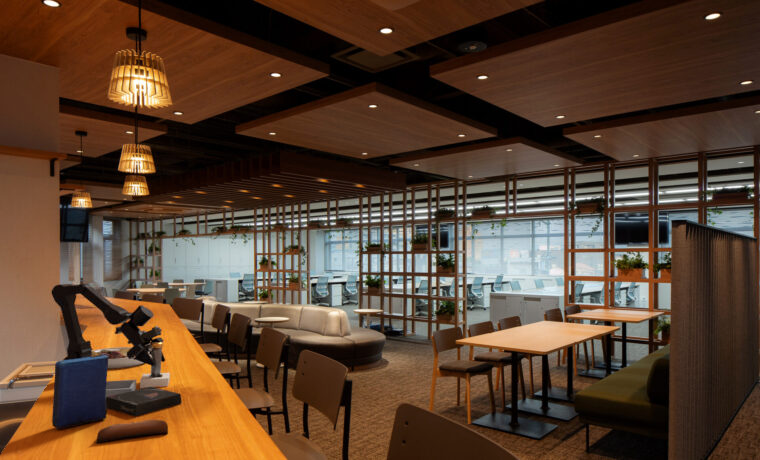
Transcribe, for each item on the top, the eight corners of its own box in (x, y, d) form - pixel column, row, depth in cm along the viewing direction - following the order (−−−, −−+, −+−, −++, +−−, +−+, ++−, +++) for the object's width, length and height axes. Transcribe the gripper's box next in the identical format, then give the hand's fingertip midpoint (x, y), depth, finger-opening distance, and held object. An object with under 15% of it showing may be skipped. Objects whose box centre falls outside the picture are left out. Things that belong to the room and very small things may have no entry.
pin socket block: (139, 387, 190) (140, 379, 190) (142, 381, 200) (143, 374, 200) (168, 386, 194) (168, 378, 194) (169, 380, 203) (169, 372, 203)
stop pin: (148, 385, 194) (150, 344, 195) (149, 382, 198) (151, 342, 199) (160, 384, 195) (162, 343, 196) (161, 382, 199) (163, 342, 200)
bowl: (84, 359, 240) (85, 343, 241) (152, 355, 253) (152, 340, 253) (75, 372, 213) (76, 354, 214) (152, 367, 226) (153, 350, 226)
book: (102, 416, 156) (105, 352, 157) (109, 420, 152) (112, 354, 154) (49, 428, 145) (53, 358, 146) (56, 432, 141) (60, 361, 142)
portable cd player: (181, 405, 171) (182, 393, 171) (135, 418, 156) (136, 405, 157) (151, 397, 179) (152, 386, 180) (105, 409, 165) (106, 397, 165)
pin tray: (87, 401, 171) (88, 391, 171) (95, 391, 184) (96, 381, 184) (131, 398, 176) (131, 388, 176) (135, 388, 189) (136, 379, 189)
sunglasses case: (165, 424, 149) (167, 408, 146) (166, 443, 144) (168, 427, 141) (96, 434, 141) (97, 417, 138) (95, 454, 135) (96, 437, 132)
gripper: (135, 323, 189) (162, 353, 188) (160, 317, 208) (184, 345, 206) (114, 343, 189) (141, 374, 188) (141, 336, 207) (165, 363, 206)
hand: (159, 363), depth 197 cm, fingers open, 8 cm apart
